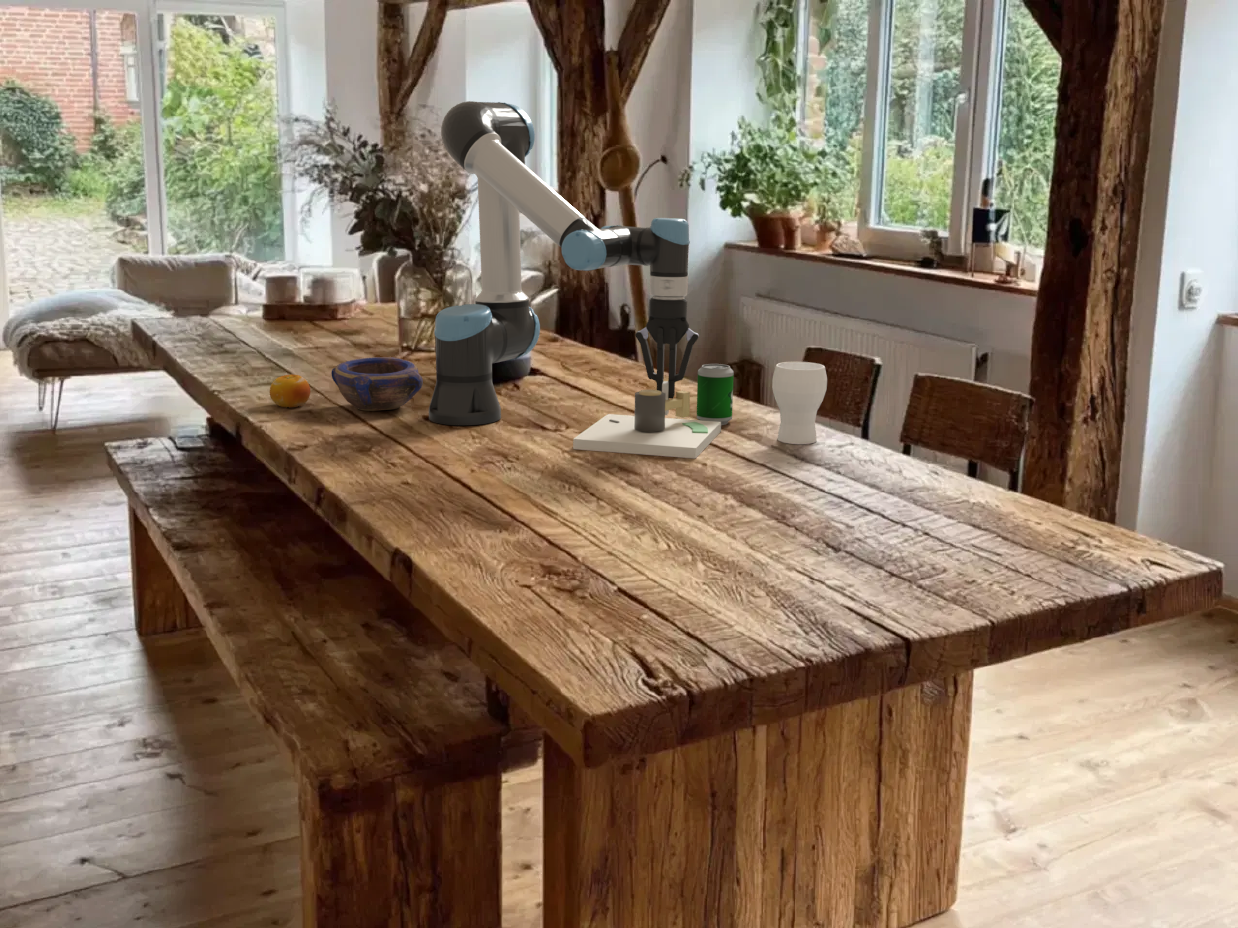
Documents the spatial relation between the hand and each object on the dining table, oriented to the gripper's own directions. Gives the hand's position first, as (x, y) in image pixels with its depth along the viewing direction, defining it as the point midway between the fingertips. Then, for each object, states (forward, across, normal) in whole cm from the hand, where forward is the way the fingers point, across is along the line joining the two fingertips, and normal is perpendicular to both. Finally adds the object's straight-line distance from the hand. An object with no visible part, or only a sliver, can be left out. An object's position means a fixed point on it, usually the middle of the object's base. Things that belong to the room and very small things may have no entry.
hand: (665, 414), depth 260 cm
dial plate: (+4, -2, -8) cm, 9 cm away
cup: (+4, +27, -3) cm, 27 cm away
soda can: (+4, +10, +11) cm, 15 cm away
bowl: (+4, -64, +13) cm, 65 cm away
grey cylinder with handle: (+2, 0, -4) cm, 5 cm away
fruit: (+4, -83, +12) cm, 84 cm away
